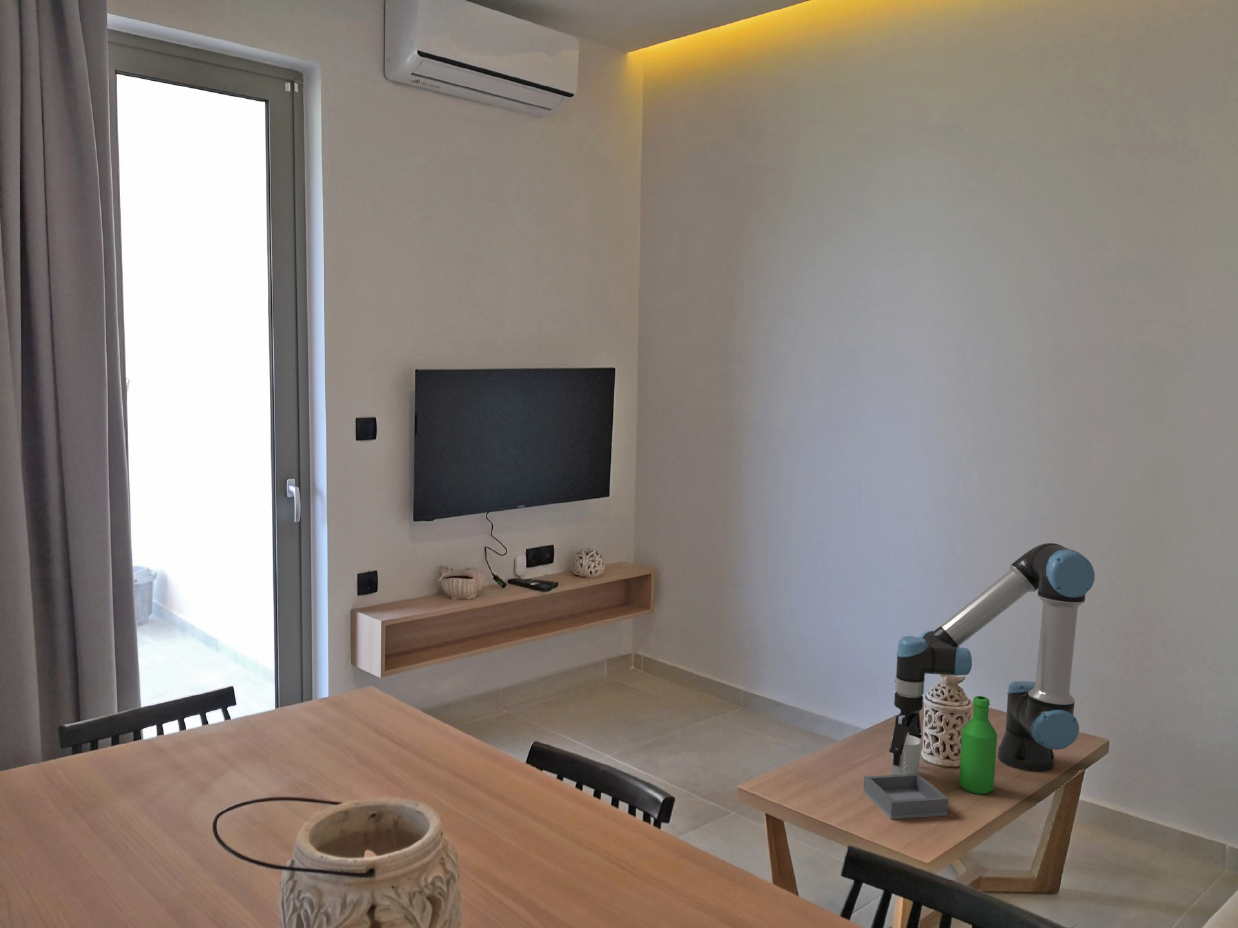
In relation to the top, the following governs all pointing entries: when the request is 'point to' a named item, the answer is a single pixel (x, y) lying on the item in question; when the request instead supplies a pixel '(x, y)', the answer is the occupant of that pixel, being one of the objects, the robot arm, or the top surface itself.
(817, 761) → the top surface
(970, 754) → the bottle
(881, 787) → the gray tray
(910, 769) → the white cup
